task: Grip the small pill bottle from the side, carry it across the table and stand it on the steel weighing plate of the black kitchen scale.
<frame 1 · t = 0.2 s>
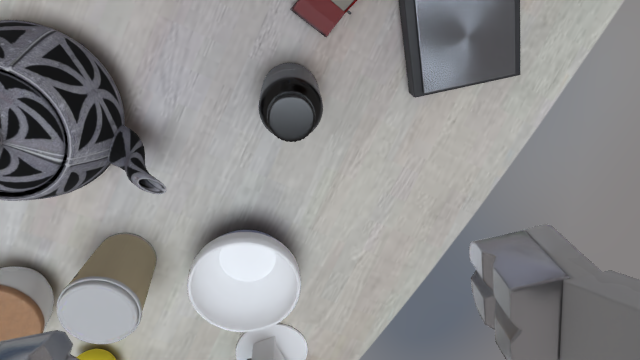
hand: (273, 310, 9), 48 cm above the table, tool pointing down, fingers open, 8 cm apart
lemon: (103, 353, 70), on the table
teapot: (59, 104, 54), on the table
bowl: (248, 255, 65), on the table
panda figurine: (271, 348, 73), on the table
coffee cup: (128, 255, 64), on the table
trinket box: (26, 283, 64), on the table
scale: (456, 19, 54), on the table
supplement bottle: (289, 89, 56), on the table
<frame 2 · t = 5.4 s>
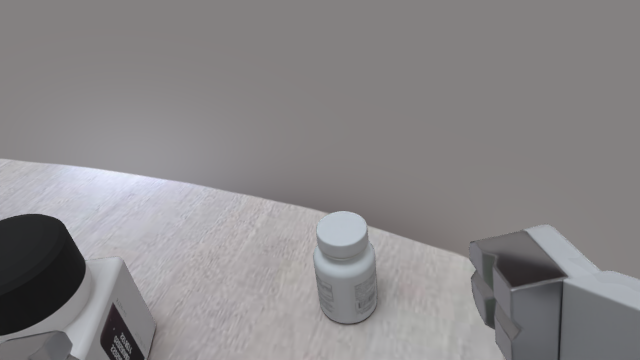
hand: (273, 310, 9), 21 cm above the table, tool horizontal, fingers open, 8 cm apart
pill bottle: (348, 302, 35), on the table
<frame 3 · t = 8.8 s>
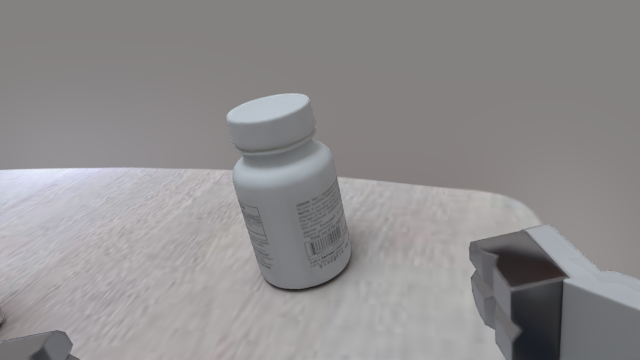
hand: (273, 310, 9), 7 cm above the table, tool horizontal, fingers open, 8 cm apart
pill bottle: (307, 264, 22), on the table
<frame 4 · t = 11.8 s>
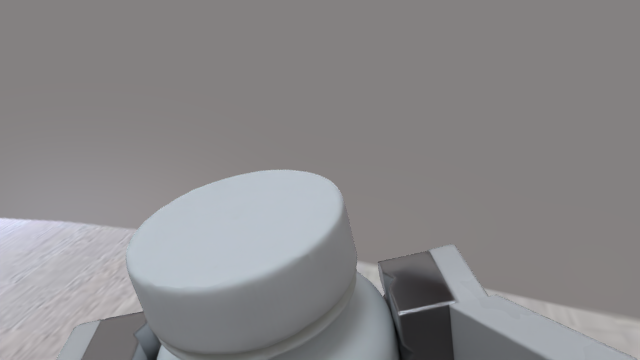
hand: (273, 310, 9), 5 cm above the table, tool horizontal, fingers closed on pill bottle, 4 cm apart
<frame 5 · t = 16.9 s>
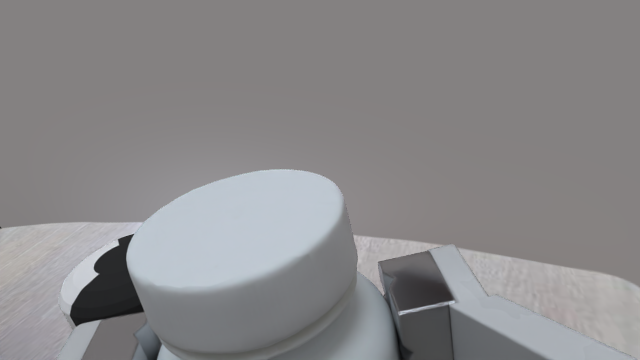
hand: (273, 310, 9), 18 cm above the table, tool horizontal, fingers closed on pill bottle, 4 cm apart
when the fingers open (8 cm above the table, at t = 22.2 s): pill bottle stays where it is, resting on scale.
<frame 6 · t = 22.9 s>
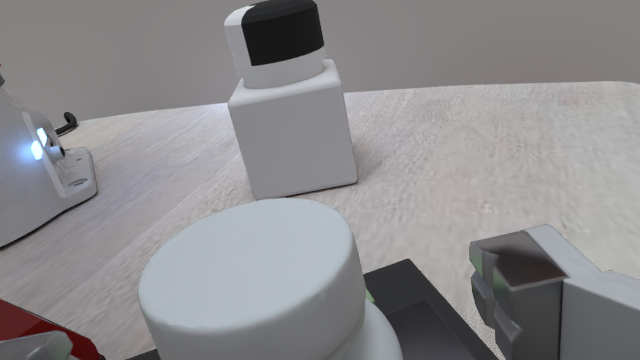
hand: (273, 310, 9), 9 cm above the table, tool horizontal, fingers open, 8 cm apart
container: (306, 174, 37), on the table
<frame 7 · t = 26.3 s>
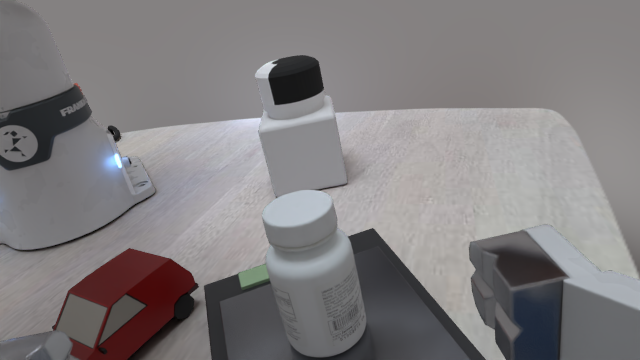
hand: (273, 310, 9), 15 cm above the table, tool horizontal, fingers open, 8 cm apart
container: (311, 178, 51), on the table
pill bottle: (328, 331, 25), point 3 cm above the table, touching scale
scale: (329, 351, 28), on the table
toy truck: (123, 351, 32), on the table
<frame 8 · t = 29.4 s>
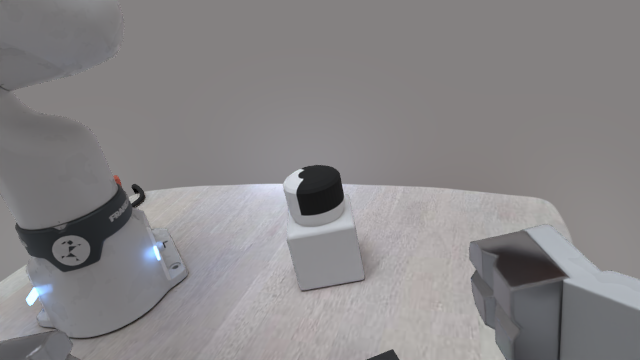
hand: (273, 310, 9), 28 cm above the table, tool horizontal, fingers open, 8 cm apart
container: (331, 268, 57), on the table
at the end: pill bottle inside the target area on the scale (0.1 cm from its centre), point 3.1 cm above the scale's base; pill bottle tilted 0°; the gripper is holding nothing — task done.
